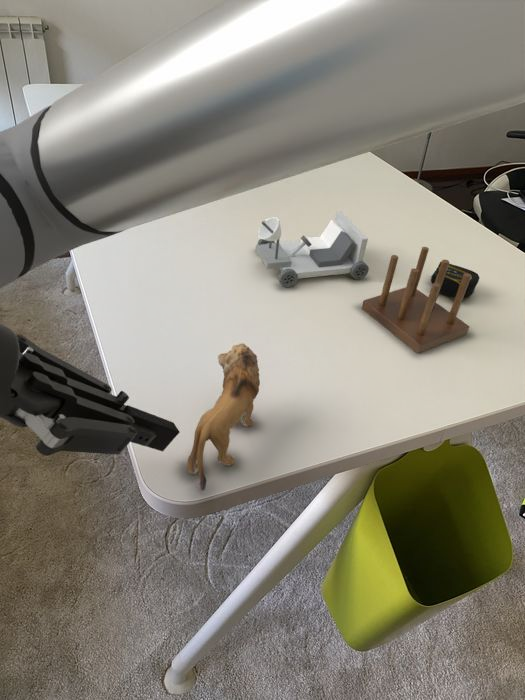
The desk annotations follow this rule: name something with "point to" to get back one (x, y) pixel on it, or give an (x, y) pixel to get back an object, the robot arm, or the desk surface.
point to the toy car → (314, 251)
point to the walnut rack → (418, 309)
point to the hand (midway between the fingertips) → (168, 436)
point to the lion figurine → (227, 407)
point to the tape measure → (455, 281)
